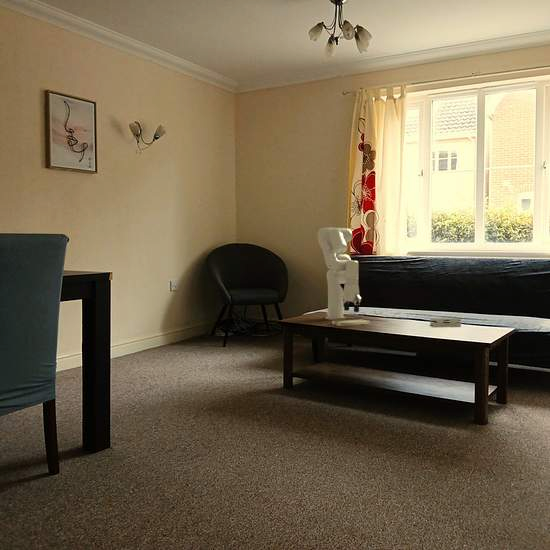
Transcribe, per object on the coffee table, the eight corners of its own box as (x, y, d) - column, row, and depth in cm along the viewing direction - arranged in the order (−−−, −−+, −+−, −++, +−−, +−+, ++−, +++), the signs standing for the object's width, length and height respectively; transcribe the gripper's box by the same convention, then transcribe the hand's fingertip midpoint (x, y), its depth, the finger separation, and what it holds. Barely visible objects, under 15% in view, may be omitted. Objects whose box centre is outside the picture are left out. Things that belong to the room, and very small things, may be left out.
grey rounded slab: (462, 326, 317) (455, 326, 327) (462, 318, 317) (454, 318, 327) (433, 327, 315) (427, 326, 325) (433, 318, 316) (427, 318, 325)
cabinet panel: (332, 324, 326) (332, 318, 325) (360, 322, 335) (360, 316, 335) (342, 326, 317) (342, 320, 317) (370, 324, 326) (370, 318, 326)
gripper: (338, 281, 331) (337, 310, 331) (355, 282, 315) (354, 312, 316) (348, 281, 334) (348, 309, 335) (366, 282, 319) (365, 312, 320)
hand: (351, 311), depth 326 cm, fingers open, 9 cm apart
